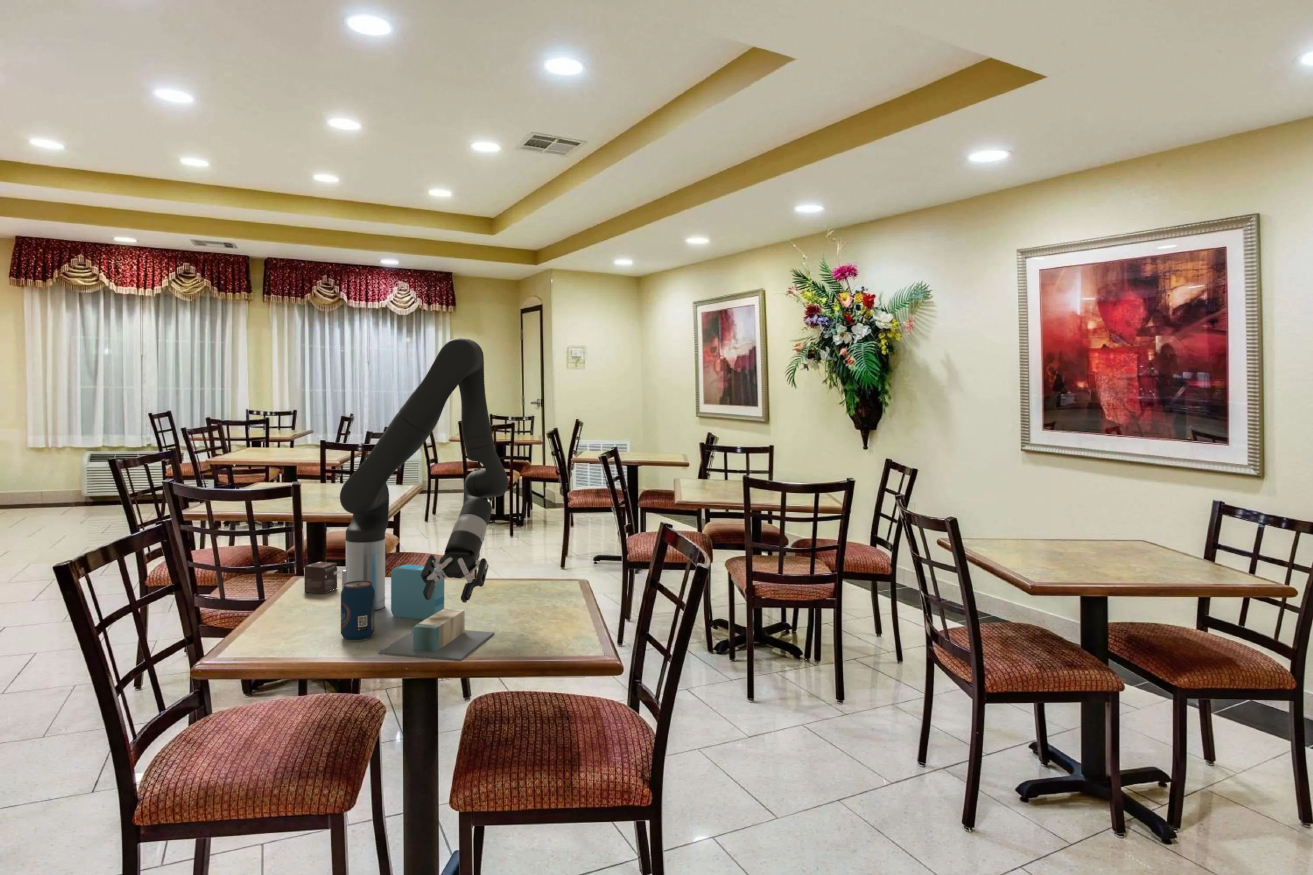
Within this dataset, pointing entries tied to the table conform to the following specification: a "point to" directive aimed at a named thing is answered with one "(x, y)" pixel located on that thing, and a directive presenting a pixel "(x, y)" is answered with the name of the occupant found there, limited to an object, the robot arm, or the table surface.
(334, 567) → the box
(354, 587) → the soda can
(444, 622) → the birch block
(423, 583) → the data package
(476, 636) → the rubber mat
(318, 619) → the table surface
